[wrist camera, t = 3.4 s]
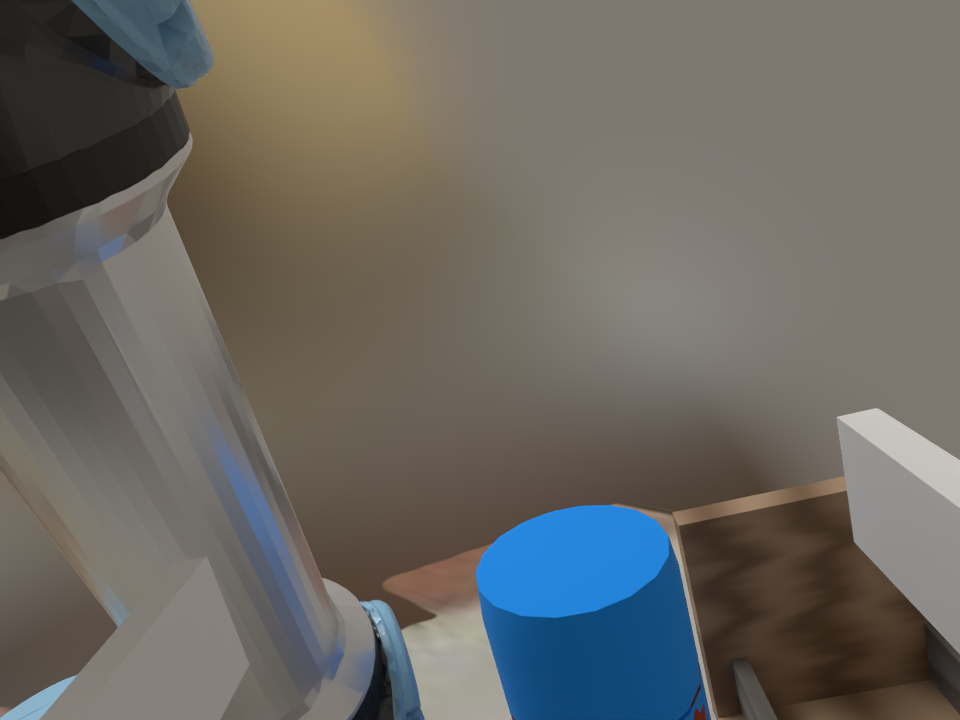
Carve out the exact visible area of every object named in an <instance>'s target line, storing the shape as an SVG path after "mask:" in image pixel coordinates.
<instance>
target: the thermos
mask: <svg viewBox="0 0 960 720" xmlns="http://www.w3.org/2000/svg"><path fill="white" fill-rule="evenodd" d="M476 578H477V585H478V592H479V598H480V604H481V610H482V616H483V621H484V625H485V628H486V632H487V635H488V638H489V642H490V645H491V649H492V652H493V655H494V659H495V662H496V666H497V669H498V672H499V676H500V679H501V683H502V686H503V689H504V693H505V696H506V700H507V703H508V706H509V710H510V713H511V716H512V720H711V718H710V713H709V708H708V703H707V698H706V694H705V689H704V684H703V679H702V675H701V670H700V665H699V662H698V655H697V651H696V646H695V641H694V636H693V631H692V627H691V622H690V617H689V612H688V607H687V603H686V598H685V593H684V588H683V583H682V579H681V574H680V569H679V564H678V561H677V559H676V556H675V553H674V550H673V548H672V545H671V542H670V539H669V536H668V535H667V534H666V532H665V531H664V530H663V528H662V527H661V526H660V524H659V523H658V522H657V521H656V520H654V519H652V518H650V517H648V516H647V515H645V514H643V513H641V512H639V511H637V510H632V509H627V508H622V507H616V506H611V505H602V506H578V507H573V508H568V509H563V510H558V511H553V512H549V513H547V514H544V515H541V516H539V517H536V518H534V519H531V520H528V521H525V522H523V523H521V524H520V525H518V526H517V527H515V528H513V529H512V530H510V531H508V532H507V533H505V534H503V535H502V536H500V537H499V538H498V539H497V540H496V541H495V542H494V543H493V544H492V545H491V546H490V548H489V549H488V550H487V551H486V552H485V553H484V554H483V556H482V558H481V561H480V563H479V566H478V568H477V570H476Z"/></svg>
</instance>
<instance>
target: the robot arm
mask: <svg viewBox="0 0 960 720" xmlns="http://www.w3.org/2000/svg"><path fill="white" fill-rule="evenodd" d="M213 64H214V55H213V52H212V50H211V48H210V45H209V43H208V40H207V38H206V35H205V33H204V31H203V28H202V26H201V24H200V21H199V19H198V17H197V15H196V13H195V11H194V8H193V6H192V5H191V3H190V0H0V470H1V471H2V473H3V474H4V476H5V477H6V478H7V480H8V481H9V482H10V484H11V485H12V486H13V488H14V489H15V490H16V492H17V493H18V494H19V496H20V497H21V498H22V500H23V501H24V502H25V504H26V505H27V506H28V508H29V509H30V510H31V512H32V513H33V514H34V516H35V517H36V518H37V520H38V521H39V522H40V524H41V525H42V526H43V528H44V529H45V530H46V531H47V533H48V534H49V536H50V537H51V538H52V540H53V541H54V542H55V544H56V545H57V546H58V548H59V549H60V550H61V552H62V553H63V554H64V556H65V557H66V558H67V560H68V561H69V562H70V564H71V565H72V566H73V568H74V569H75V570H76V572H77V573H78V574H79V576H80V577H81V578H82V580H83V581H84V582H85V584H86V585H87V586H88V588H89V589H90V590H91V592H92V593H93V594H94V596H95V597H96V598H97V600H98V601H99V602H100V604H101V605H102V606H103V608H104V609H105V610H106V612H107V613H108V614H109V616H110V617H111V618H112V620H113V621H114V622H115V624H116V625H117V626H118V629H117V630H116V631H115V632H114V633H113V634H112V635H111V637H110V638H109V639H108V640H107V642H105V644H104V645H103V646H102V647H101V649H99V651H98V652H97V653H96V654H95V655H94V656H93V658H92V659H91V660H90V661H89V662H88V664H87V665H86V666H85V667H84V668H83V669H82V670H81V672H80V673H79V674H78V675H76V676H73V677H70V678H68V679H65V680H63V681H61V682H59V683H57V684H55V685H53V686H51V687H48V688H47V689H45V690H43V691H42V692H40V693H38V694H36V695H34V696H32V697H31V698H29V699H27V700H26V701H24V702H23V703H21V704H20V705H18V706H17V707H15V708H14V709H12V710H11V711H9V712H8V713H6V714H5V715H4V716H2V717H1V718H0V720H425V719H424V716H423V713H422V711H421V710H420V706H421V704H420V699H419V693H418V687H417V683H416V679H415V676H414V672H413V668H412V665H411V661H410V658H409V655H408V651H407V648H406V645H405V642H404V639H403V636H402V633H401V630H400V628H399V625H398V622H397V620H396V618H395V615H394V613H393V611H392V610H391V608H390V607H389V605H388V604H386V603H384V602H382V601H380V600H373V601H370V602H366V601H362V602H359V601H358V600H357V599H356V597H355V596H354V595H352V594H351V593H350V592H349V591H348V590H347V589H345V588H343V587H342V586H340V585H339V584H337V583H334V582H332V581H330V580H327V579H324V578H321V576H320V573H319V571H318V568H317V566H316V563H315V561H314V559H313V556H312V554H311V551H310V549H309V547H308V544H307V542H306V540H305V537H304V535H303V532H302V530H301V527H300V525H299V523H298V520H297V518H296V515H295V513H294V510H293V508H292V506H291V503H290V501H289V498H288V496H287V494H286V491H285V489H284V486H283V484H282V481H281V479H280V477H279V474H278V472H277V470H276V467H275V465H274V462H273V460H272V457H271V455H270V453H269V450H268V448H267V446H266V443H265V441H264V438H263V436H262V433H261V431H260V429H259V426H258V424H257V422H256V419H255V416H254V414H253V412H252V409H251V407H250V404H249V402H248V400H247V397H246V395H245V393H244V390H243V387H242V385H241V383H240V380H239V378H238V376H237V373H236V371H235V368H234V366H233V363H232V361H231V358H230V356H229V354H228V351H227V349H226V347H225V344H224V342H223V339H222V337H221V334H220V332H219V330H218V327H217V325H216V322H215V320H214V318H213V315H212V313H211V310H210V308H209V306H208V303H207V301H206V298H205V296H204V294H203V291H202V289H201V286H200V284H199V281H198V279H197V277H196V274H195V272H194V269H193V267H192V265H191V262H190V260H189V257H188V255H187V252H186V250H185V248H184V245H183V243H182V241H181V238H180V235H179V233H178V231H177V228H176V226H175V223H174V221H173V219H172V216H171V214H170V211H169V209H168V207H167V196H168V192H169V190H170V188H171V186H172V185H173V183H174V181H175V179H176V177H177V175H178V173H179V172H180V170H181V168H182V166H183V164H184V162H185V160H186V159H187V157H188V155H189V153H190V151H191V149H192V143H193V140H192V136H191V133H190V130H189V127H188V124H187V121H186V118H185V116H184V113H183V110H182V108H181V105H180V102H179V99H178V97H177V94H176V91H175V89H180V88H188V87H190V86H194V84H195V83H196V81H197V79H199V78H201V77H203V76H204V75H206V74H207V73H209V72H210V70H211V68H212V67H213ZM837 423H838V430H839V438H840V444H841V452H842V459H843V466H844V473H845V481H846V488H847V495H848V502H849V509H850V516H851V523H852V531H853V538H854V542H855V543H856V544H857V545H858V547H859V548H860V549H861V550H862V551H863V552H864V553H865V554H866V555H867V556H868V557H869V558H870V559H871V560H872V561H873V562H874V564H875V565H876V566H877V567H878V568H879V569H880V570H881V571H882V572H883V573H884V574H885V575H886V576H887V577H888V578H889V580H890V581H891V582H892V583H893V584H894V585H895V586H896V587H897V588H898V589H899V590H900V591H901V592H902V593H903V594H904V595H905V597H906V598H907V599H908V600H909V601H910V602H911V603H912V604H913V605H914V606H915V607H916V608H917V609H918V610H919V611H920V612H921V614H922V615H923V616H924V617H925V618H926V619H927V620H928V621H929V622H930V623H931V624H932V625H933V626H934V627H935V628H936V629H937V631H938V632H939V633H940V634H941V635H942V636H943V637H944V638H945V639H946V640H947V641H948V642H949V643H950V644H951V645H952V646H953V648H954V649H955V650H956V651H957V652H958V653H959V654H960V460H958V459H957V458H955V457H953V456H952V455H950V454H949V453H947V452H946V451H944V450H943V449H941V448H939V447H938V446H936V445H935V444H933V443H932V442H930V441H928V440H927V439H925V438H924V437H922V436H921V435H919V434H917V433H916V432H914V431H913V430H911V429H909V428H908V427H906V426H905V425H903V424H901V423H900V422H898V421H897V420H895V419H894V418H892V417H891V416H889V415H887V414H886V413H884V412H883V411H881V410H880V409H878V408H875V409H871V410H866V411H862V412H857V413H853V414H848V415H844V416H839V417H837Z"/></svg>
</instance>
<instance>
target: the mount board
mask: <svg viewBox="0 0 960 720" xmlns="http://www.w3.org/2000/svg"><path fill="white" fill-rule="evenodd" d="M673 518H674V523H675V528H676V533H677V537H678V542H679V547H680V552H681V557H682V562H683V566H684V571H685V576H686V581H687V586H688V590H689V595H690V600H691V605H692V610H693V615H694V619H695V624H696V629H697V634H698V639H699V644H700V648H701V653H702V658H703V663H704V668H705V673H706V677H707V682H708V687H709V692H710V697H711V702H712V706H713V710H714V713H715V716H716V718H717V720H960V654H959V653H958V652H957V651H956V650H955V649H954V648H953V646H952V645H951V644H950V643H949V642H948V641H947V640H946V639H945V638H944V637H943V636H942V635H941V634H940V633H939V632H938V631H937V629H936V628H935V627H934V626H933V625H932V624H931V623H930V622H929V621H928V620H927V619H926V618H925V617H924V616H923V615H922V614H921V612H920V611H919V610H918V609H917V608H916V607H915V606H914V605H913V604H912V603H911V602H910V601H909V600H908V599H907V598H906V597H905V595H904V594H903V593H902V592H901V591H900V590H899V589H898V588H897V587H896V586H895V585H894V584H893V583H892V582H891V581H890V580H889V578H888V577H887V576H886V575H885V574H884V573H883V572H882V571H881V570H880V569H879V568H878V567H877V566H876V565H875V564H874V562H873V561H872V560H871V559H870V558H869V557H868V556H867V555H866V554H865V553H864V552H863V551H862V550H861V549H860V548H859V547H858V545H857V544H856V543H855V542H854V538H853V531H852V523H851V516H850V509H849V502H848V495H847V488H846V481H845V476H844V477H839V478H834V479H830V480H825V481H820V482H815V483H811V484H806V485H801V486H796V487H792V488H787V489H782V490H777V491H773V492H768V493H763V494H758V495H754V496H749V497H744V498H740V499H735V500H730V501H725V502H720V503H715V504H711V505H706V506H701V507H696V508H692V509H687V510H682V511H678V512H673Z"/></svg>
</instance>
